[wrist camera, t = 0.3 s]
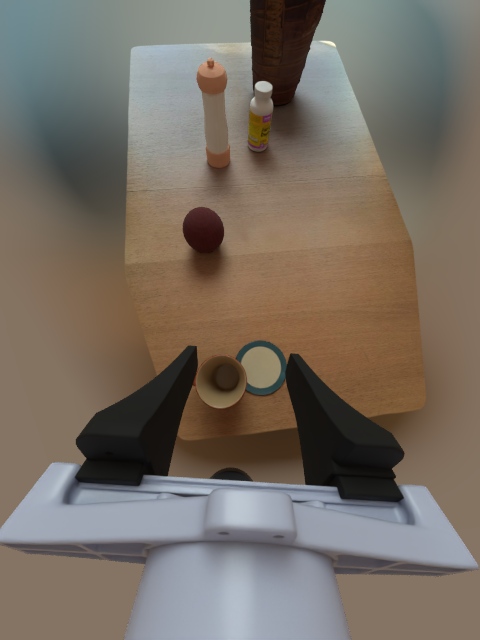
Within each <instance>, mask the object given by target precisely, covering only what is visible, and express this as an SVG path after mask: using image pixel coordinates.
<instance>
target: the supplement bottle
mask: <svg viewBox="0 0 480 640" xmlns="http://www.w3.org/2000/svg"><path fill="white" fill-rule="evenodd" d="M254 93H255V97H254V98H253V99H252V100H251V103H250V115H249V131H248V146H249V148H250V149H251V150H253V151H256V152H261V151H263V150H265V149H266V148H267V146H268V140H269V133H270V126H271V120H272V113H273V102H272V100H271V98H270V97H271V95H272V85H271V84H270V83H269V82H266V81H260V82H257V83H256V84H255V91H254Z"/></svg>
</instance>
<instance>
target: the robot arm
mask: <svg viewBox="0 0 480 640" xmlns="http://www.w3.org/2000/svg"><path fill="white" fill-rule="evenodd" d="M197 367H198V360H197V346H187V347H186V349H185V350H184V351H183V352H182V353H181V354H180V355H179V356H178V357H177V358H176V359H175V360H174V361H173V362H172V363H171V364H170V365H169V366H168V367H167V368H166V369H165V370H164V371H162V372H161V373H160V374H159V375H158V376H157V377H155V378H154V379H153V380H152V381H150V382H149V383H148V384H146V385H145V386H143V387H142V388H140V389H139V390H137V391H136V392H134V393H133V394H131V395H129V396H128V397H126V398H124V399H123V400H121V401H119V402H117V403H115V404H113V405H111V406H109V407H108V408H106V409H104V410H102V411H100V412H98V413H96V414H95V416H94V417H93V418H92V419H91V420H90V421H89V423H88V424H87V425H86V427H85V428H84V429H83V431H82V432H81V433H80V435H79V436H78V437H77V439H76V445H77V447H78V448H79V450H80V451H81V452H82V453H83V455H84V456H85V457H86V458H87V459H86V461H85V462H84V463H83V465H82V466H81V465H79V464H74V463H60V462H54V463H52V464H51V465H50V466H49V467H48V468H47V470H46V471H45V472H44V474H43V475H42V476H41V477H40V479H39V480H38V482H37V483H36V484H35V485H34V486H33V488H32V489H31V490H30V491H29V493H28V494H27V495H26V497H25V498H24V499H23V501H22V502H21V503H20V504H19V505H18V507H17V508H16V509H15V511H14V512H13V513H12V515H11V516H10V517H9V518H8V520H7V521H6V522H5V523H4V525H3V526H2V527H1V529H0V545H2V546H6V547H8V548H12V549H15V550H18V551H21V552H24V553H27V554H42V555H56V556H69V557H79V558H90V559H99V560H109V561H119V562H129V563H139V564H145V566H144V570H143V573H142V577H141V580H140V584H139V588H138V591H137V594H136V598H135V601H134V605H133V608H132V612H131V615H130V619H129V622H128V626H127V629H126V633H125V636H124V640H351V636H350V632H349V628H348V624H347V620H346V616H345V612H344V608H343V604H342V600H341V596H340V592H339V588H338V585H337V580H336V576H335V574H381V575H382V574H383V575H385V574H386V575H420V576H443V575H450V574H456V573H462V572H467V571H473V570H479V566H478V564H477V563H476V561H475V560H474V558H473V557H472V555H471V554H470V552H469V551H468V549H467V548H466V546H465V545H464V543H463V542H462V540H461V539H460V537H459V536H458V534H457V533H456V531H455V530H454V528H453V527H452V525H451V524H450V522H449V521H448V519H447V518H446V516H445V515H444V513H443V512H442V510H441V509H440V507H439V506H438V504H437V503H436V501H435V500H434V498H433V497H432V495H431V494H430V492H429V491H428V489H427V488H426V487H425V486H419V485H399V486H397V484H396V483H395V481H394V478H396V476H395V474H394V472H393V470H392V468H393V467H394V466H395V465H397V464H398V463H399V462H400V461H401V460H402V459H403V457H404V451H403V449H402V448H401V446H400V445H399V444H398V442H397V441H396V439H395V438H394V436H393V435H392V433H390V432H389V431H387V430H385V429H384V428H382V427H380V426H379V425H377V424H376V423H374V422H372V421H371V420H369V419H368V418H366V417H365V416H364V415H362V414H361V413H359V412H358V411H356V410H355V409H354V408H352V407H351V406H350V405H349V404H347V403H346V402H345V401H344V400H342V399H341V398H340V397H339V396H338V395H336V394H335V393H334V392H333V391H332V390H331V389H330V388H329V387H328V386H327V385H326V384H325V383H324V382H323V381H322V380H321V379H320V378H319V377H318V376H317V375H316V374H315V373H314V372H313V370H312V369H311V368H310V367H309V366H308V365H307V364H306V362H305V361H304V360H303V359H302V358H301V356H300V355H299V354H292V353H291V354H290V357H289V360H288V364H287V367H286V371H285V376H286V383H287V387H288V391H289V395H290V398H291V402H292V405H293V409H294V413H295V417H296V421H297V427H298V432H299V439H300V445H301V452H302V459H303V467H304V475H305V484H306V485H294V484H279V483H263V482H248V481H232V480H216V479H201V478H200V479H199V478H185V477H168V471H169V467H170V462H171V457H172V453H173V449H174V445H175V440H176V437H177V433H178V429H179V425H180V421H181V417H182V413H183V410H184V407H185V404H186V401H187V398H188V396H189V393H190V390H191V388H192V385H193V382H194V379H195V376H196V372H197Z"/></svg>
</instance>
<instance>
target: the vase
mask: <svg viewBox="0 0 480 640" xmlns="http://www.w3.org/2000/svg"><path fill="white" fill-rule="evenodd" d="M325 1H326V0H250V13H251V16H250V22H251V46H252V71H253V91H255V84H256V83H257V82H260V81H266V82H269V83H270V84H271V85H272V95H271V97H270V98H271V100H272V102H273V105H281V104H286V103H288V102H289V101H291V100H292V98H293V97H294V94H295V91H296V88H297V85H298V84H299V82H300V78H301V75H302V71H303V69H304V67H305V63H306V58H307V55H308V52H309V50H310V45H311V42H312V39H313V36H314V33H315V30H316V27H317V26H318V24H319V21H320V19H321V16H322V13H323V8H324V5H325ZM254 94H255V93H254Z"/></svg>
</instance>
